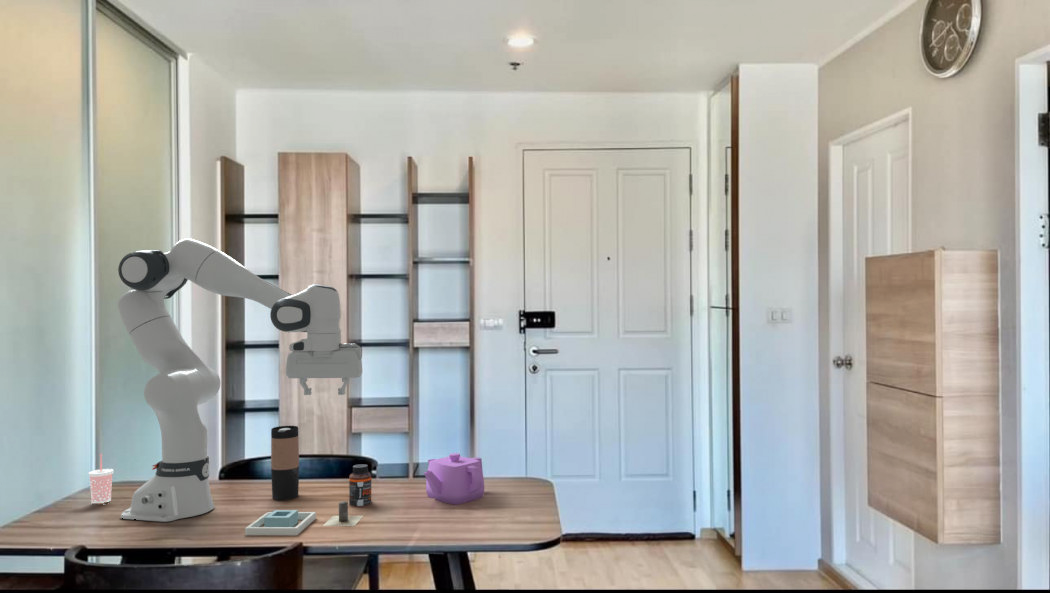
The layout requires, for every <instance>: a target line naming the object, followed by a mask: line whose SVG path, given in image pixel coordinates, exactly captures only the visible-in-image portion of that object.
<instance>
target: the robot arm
mask: <svg viewBox="0 0 1050 593" xmlns="http://www.w3.org/2000/svg"><path fill="white" fill-rule="evenodd" d="M117 270H118V276H119V278H120V280H121V282H123V283H124V285H126V286H127V287H129V288H130V289H129V290H128V291H126V292H124V293H123V294H122V295H121V296H120V298H119V300H118V301H117V302H118V303H117V306H118V311H119V314H120V315H119V316H120V317H121V320H122V322H123V325H124V328H125V329H126V331H127V333H128V335H129V337H130V339H131V340H132V343H133V344H134V346H135V348H136V350H137V351H138V354H139V355H140V357H141V359H142V360H143V361H144V362H145V363H147V364H149V365H150V366H151V367H153V368H154V369H156V370H157V371H158V372H159V373H158V374H156V375H154V376H153V377H151V378H150V379H149V380H148V381H147V382H146V384H145V387H144V391H143V395H144V399H145V402H146V404H148V406H149V407H150V408H151V409H152V410H153V411H154V412H155V415H156V419H157V421H158V424H159V428H160V435H161V460H160V461H158V462H157V463H155V464H153V465H152V467H153V468H151V470H153V471H154V470H156V472H155V474H154V476H152V477H151V478H150V479H149V480H147V481H146V482H144V484H142V485H141V486H140V487H138V488H136V490H135V491H134V493H133V494H132V498H131V502H130V507H129V508H127V509H125V510H124V511H122V512H121V514H120V519H122V518H123V519H122V520H134V519H136V520H137V521H148V522H149V521H150V522H162V523H167V522H172V521H176V520H180V519H185V518H190V517H196V516H200V515H203V514H206V513H208V512H210V511H212V510H213V509H215V505H214V502H213V498H212V494H211V489H210V481H209V477H210V457H209V456H208V429H207V426H206V425H205V424H204V423H203V422H202V420H201V418H200V414H199V410H198V406H199V405H202V404H204V403H207V402H209V401H210V400H211V399H212V398H214V397H215V396H216V395H217V394H218V393H219V392H220V388H221V379H220V378H221V377H220V375H219V374H218V372H217V371H216V370H215V369H214V368H212V367H210V366H208V365H207V364H206V363H205V362H204V361H203V360H202V359H201V358H200V357H199V356H198V355H197V353H196V352H194V350H193V349H192V348H191V347H190V346H189V344H188V343H187V342H186V340H185V339H184V338H183V336H182V334H181V333H180V330H179V329H178V327H177V326H176V324H175V322H174V320H173V318H172V317H171V314H170V313H169V311H168V309H167V307H166V305H165V302H164V301H165V300H167V299H171V298H172V297H173V296H174V295H175V294H176V293H177V292H178V291H180V289H182V288H183V287H184V286H185V285H186V284H187V282H188V281H191V282H192V283H194V284H195V285H198V287H200V288H202V289H204V290H206V291H208V292H211V293H214V294H217V295H219V296H225V297H232V298H233V297H235V298H243V299H246V300H247V299H248V300H250V301H254V302H256V303H259V304H260V305H262V306H264V307H266V308H268V309H270V313H269V314H270V315H269V316H270V320H271V323H272V325H273V326H274V328H275V329H276V330H279V331H281V332H285V333H306V336H307V337H306V338H302V339H300V340H298V341H295V342H291V343H289V348H288V349H289V352H290V353H288V356H287V358H286V365H285V374H286V376H287V378H288V379H299V384H300V386H301V387H302V389H303V395H304V396H311V395H312V387H309V386H308V384H307V382H308V379H341V382H342V383H343V384H342V386H341V387H339V388H337V390H338V392H337V393H338V394H337V395H338V396H339V395H340V396H341V395H343V396H344V395H346V388H347V386H348V384H349V383H350V379H355V378H356V379H357V378H360V376H362V375H363V366H362V365H363V364H362V357H363V349H362V347H361V346H360V345H358V344H357V343H341V342H342V334H341V333H342V331H341V328H340V320H341V317H342V316H341V315H342V314H341V312H342V311H341V300H340V294H339V292H338V290H337V289H336V288H335V287H333V286H328V285H322V284H310V285H308V287H307V288H305V289H304V290H302V291H299V292H297V293H295V294H292V293H289V292H287V291H285V290H283V289H282V288H280V287H277V286H276V285H273V284H272V283H270V282H268V281H266V280H265V279H263V278H261V277H260V276H258V275H257V274H255V273H254V272H252V271H251V270H250V269H248V268H247V267H245V266H244V265H242V264H241V263H240V262H239V261H237V260H236V259H234V258H233V257H232V256H230V255H228V254H226V253H225V252H224V251H221V250H220V249H217V248H216V247H213V246H212V245H210V244H207V243H204V242H201V241H199V240H196V239H194V238H183V239H179V241H177V242H175V244H174V245H173V246H172V247H171V249H170V250H169V251H167V252H163V251H162V250H159V249H157V250H154V249H153V250H147V249H144V250H143V249H142V250H137V251H132V252H130V253H128V254H125V255H124V256H123V258H121V260H120V262H119V264H118V269H117ZM136 520H135V521H136Z"/></svg>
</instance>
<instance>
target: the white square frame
mask: <svg viewBox="0 0 1050 593" xmlns="http://www.w3.org/2000/svg"><path fill="white" fill-rule="evenodd" d="M271 512H272V511H267V512H266V513H264V514H263V515H261V516H260V517H259V518H257V519H255V521H253V522H252V523H250V524H249V525H248V526H246V527H245V528H244V536H298V535H299V534H301V533H302V532H303V531H304V530H305V529H306V528H307V527H308V526H309V525H310V524H312V523H313V522H314V521H315V520H317V512H316V511H298V521H299V520H300V522H298V523H297V524H296V525H295V526H294V527H264V526H263V525H264V517H266V516H267V515H269V514H270V513H271ZM301 520H302V521H301Z"/></svg>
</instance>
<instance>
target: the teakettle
mask: <svg viewBox="0 0 1050 593" xmlns="http://www.w3.org/2000/svg"><path fill="white" fill-rule="evenodd" d="M427 462H428V468H427V471H425V472H423V474H424V476H425V479H426V482H425V483H426V484H425V489H426V490H425V491H426V495H427V497H428V498H430V499H434V500H435V501H437V502H441V503H444V502H445V504H449V505H455V506H456V505H457V506H458V505H462V504H465V503H468V502H472V501H475V500H478V499H481V498H483V497H484V493H485V479H484V474H483V473H484V472H483V461H482V458H481V457H477V456H476V457H468V456H467V457H466V456H462V455H461V453H458V452H452V453H450V454H449V455H448V456H446V457H440V458H432V459H427Z"/></svg>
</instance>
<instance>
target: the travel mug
mask: <svg viewBox="0 0 1050 593" xmlns="http://www.w3.org/2000/svg"><path fill="white" fill-rule="evenodd" d="M270 430H271V433H270V442H271V443H270V448H271V450H270V460H271V461H270V465H271V466H270V467H271V470H270V472H271V474H270V475H271V494H272V495H271V497H272V499H273V500H274V501H286V500H287V501H288V500H292V499H295V498H298V496H299V489H300V488H299V480H300V478H299V477H300V448H299V446H300V445H299V442H300V441H299V427H298V425H281V426H280V425H279V426H274V427H272V428H271V429H270Z"/></svg>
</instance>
